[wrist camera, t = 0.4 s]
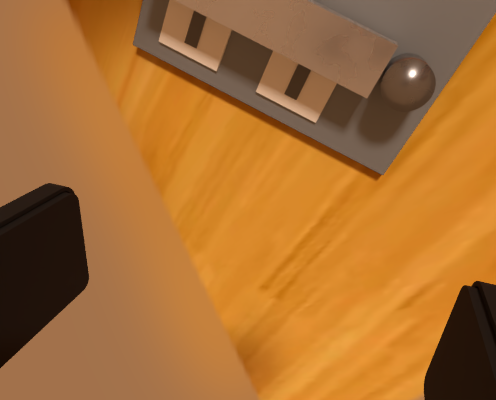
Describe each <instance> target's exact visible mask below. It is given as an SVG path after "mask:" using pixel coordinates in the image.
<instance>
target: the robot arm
mask: <svg viewBox="0 0 496 400" xmlns="http://www.w3.org/2000/svg"><path fill="white" fill-rule="evenodd" d="M88 280H89V274H88V266H87V259H86V251H85V244H84V236H83V229H82V222H81V214H80V207H79V200H78V197H77V196H76V195H75V194H74V191H73V190H72V189H71V188H69V187H65V186H61V185H56V184H51V183H48V184H45V185H43V186H41V187H39V188H37V189H35V190H33V191H31V192H29V193H27V194H25V195H23V196H21V197H20V198H17V199H16V200H14V201H12V202H10V203H8V204H6V205H4V206H2V207H0V368H1V367H2V366H3V365H4V364H5V363H6V362H7V361H8V360H9V359H11V358H12V357H13V356H14V355H15V354H16V353H17V352H18V351H19V350H20V349H21V348H22V347H23V346H24V345H26V343H28V342H29V341H30V340H31V339H32V338H33V337H34V336H35V335H36V334H37V333H38V332H39V331H41V329H42V328H44V327H45V326H46V325H47V324H48V323H49V322H50V321H51V320H52V319H53V318H54V317H55V316H57V315H58V313H60V312H61V311H62V310H63V309H64V308H65V307H66V306H67V305H68V304H69V303H70V302H71V301H73V300H74V299H75V298H76V297H77V296H78V295H79V294H80V293H81V292H82V291H83V290H84V289H85V288H86V286H87V284H88ZM424 397H425V400H496V285H493V284H489V283H484V282H480V281H476V282H474V283H473V285H472V286H466V285H464V286H463V287H462V288H461V290H460V293H459V295H458V297H457V300H456V302H455V305H454V307H453V310H452V312H451V314H450V317H449V319H448V322H447V324H446V327H445V329H444V331H443V334H442V336H441V339H440V341H439V344H438V346H437V348H436V351H435V353H434V356H433V358H432V361H431V363H430V365H429V368H428V370H427V373H426V376H425V381H424Z"/></svg>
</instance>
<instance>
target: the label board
mask: <svg viewBox="0 0 496 400" xmlns="http://www.w3.org/2000/svg"><path fill="white" fill-rule="evenodd" d="M314 1H316V2H318V3H320V4H322V5H324V6H326V7H328V8H330V9H332V10H334V11H336V12H338V13H340V14H342V15H344V16H346V17H348V18H350V19H352V20H354V21H356V22H358V23H360V24H362V25H364V26H366V27H368V28H370V29H372V30H374V31H376V32H378V33H380V34H382V35H384V36H386V37H388V38H390V39H392V40H394V41H396V42H397V44H398V47H397V49H396V50H395V52H394V54H393V56H392V57H391V59H392V58H394V57H396V56H398V55H400V54H405V53H413V54H416V55H419V56H421V57H422V58H423V59H424V60H425V61H426V62H427V63H428V65H429V66H430V68H431V69H432V71H433V73H434V75H435V79H436V86H435V90H434V93H433V95H432V97H431V98H430V100H429V101H428V102H427V103H426V104H425V105H424V106H422V107H420V108H419V109H416V110H414V111H409V112H402V111H397V110H394V109H392V108H391V107H389V106H388V105H387V104H386V103H385V101H384V100H383V98H382V95H381V76H380V78H379V79H378V81H377V83H376V84H375V86H374V88H373V89H372V91H371V93H370V94H369V96H368V98H365V97H363V96H361V95H359V94H357V93H355V92H353V91H351V90H349V89H347V88H345V87H343V86H341V85H339V84H337V83H335V82H334V81H332V80H330V79H328V78H326V77H324V76H322V75H320V74H318V73H316V72H314V71H312V70H310V69H308V68H306V67H304V66H302V65H300V64H298V63H296V62H294V61H292V60H290V59H288V58H286V57H285V56H283V55H281V54H279V53H277V52H275V51H273V50H271V49H269V48H267V47H265V46H263V45H261V44H259V43H257V42H255V41H253V40H251V39H249V38H247V37H245V36H243V35H241V34H239V33H237V32H236V31H234V30H232V29H230V28H228V27H226V26H224V25H222V24H220V23H218V22H216V21H214V20H212V19H210V18H208V17H206V16H204V15H202V14H200V13H198V12H196V11H194V10H192V9H190V8H188V7H186V6H185V5H183V4H181V3H179V2H177V1H175V0H143V3H142V7H141V11H140V16H139V20H138V24H137V29H136V33H135V37H134V41H133V45H134V46H136V47H138V48H140V49H142V50H144V51H146V52H148V53H150V54H152V55H154V56H155V57H157V58H159V59H161V60H163V61H165V62H167V63H169V64H171V65H173V66H175V67H177V68H178V69H180V70H182V71H184V72H186V73H188V74H190V75H192V76H194V77H196V78H198V79H200V80H201V81H203V82H205V83H207V84H209V85H211V86H213V87H215V88H217V89H219V90H221V91H222V92H224V93H226V94H228V95H230V96H232V97H234V98H236V99H238V100H240V101H242V102H244V103H245V104H247V105H249V106H251V107H253V108H255V109H257V110H259V111H261V112H263V113H265V114H267V115H268V116H270V117H272V118H274V119H276V120H278V121H280V122H282V123H284V124H286V125H288V126H290V127H291V128H293V129H295V130H297V131H299V132H301V133H303V134H305V135H307V136H309V137H311V138H312V139H314V140H316V141H318V142H320V143H322V144H324V145H326V146H328V147H330V148H332V149H334V150H335V151H337V152H339V153H341V154H343V155H345V156H347V157H349V158H351V159H353V160H355V161H357V162H358V163H360V164H362V165H364V166H366V167H368V168H370V169H372V170H374V171H376V172H378V173H379V174H381V175H384V173H385V172H386V170H387V169H388V167H389V166H390V165H391V163H392V162H393V160H394V159H395V157H396V156H397V154H398V153H399V152H400V150H401V149H402V147H403V146H404V144H405V143H406V141H407V140H408V139H409V137H410V136H411V134H412V133H413V131H414V130H415V128H416V127H417V126H418V124H419V123H420V121H421V120H422V118H423V117H424V115H425V114H426V113H427V111H428V110H429V108H430V107H431V105H432V104H433V102H434V101H435V100H436V98H437V97H438V95H439V94H440V92H441V91H442V89H443V88H444V87H445V85H446V84H447V82H448V81H449V79H450V78H451V76H452V75H453V74H454V72H455V71H456V69H457V68H458V66H459V65H460V63H461V62H462V61H463V59H464V58H465V56H466V55H467V53H468V52H469V50H470V49H471V48H472V46H473V45H474V43H475V42H476V40H477V39H478V37H479V36H480V35H481V33H482V32H483V30H484V29H485V27H486V26H487V24H488V23H489V22H490V20H491V19H492V17H493V16H494V14H495V13H496V0H314ZM391 59H390V60H391ZM381 75H382V74H381Z"/></svg>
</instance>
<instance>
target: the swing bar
mask: <svg viewBox="0 0 496 400" xmlns="http://www.w3.org/2000/svg"><path fill="white" fill-rule="evenodd" d="M175 1H177V2H179V3H181V4H183V5H185V6H186V7H188V8H190V9H192V10H194V11H196V12H198V13H200V14H202V15H204V16H206V17H208V18H210V19H212V20H214V21H216V22H218V23H220V24H222V25H224V26H226V27H228V28H230V29H232V30H234V31H236V32H237V33H239V34H241V35H243V36H245V37H247V38H249V39H251V40H253V41H255V42H257V43H259V44H261V45H263V46H265V47H267V48H269V49H271V50H273V51H275V52H277V53H279V54H281V55H283V56H285V57H286V58H288V59H290V60H292V61H294V62H296V63H298V64H300V65H302V66H304V67H306V68H308V69H310V70H312V71H314V72H316V73H318V74H320V75H322V76H324V77H326V78H328V79H330V80H332V81H334V82H335V83H337V84H339V85H341V86H343V87H345V88H347V89H349V90H351V91H353V92H355V93H357V94H359V95H361V96H363V97H365V98H368V96H369V94H370V93H371V91H372V89H373V88H374V86H375V84H376V83H377V81H378V79H379V78H380V76H381V95H382V98H383V100H384V101H385V103H386V104H387V105H388V106H389V107H391V108H392V109H394V110H397V111H402V112H409V111H414V110H416V109H419V108H420V107H422V106H424V105H425V104H426V103H427V102H428V101H429V100H430V98H431V97H432V95H433V93H434V90H435V86H436V79H435V75H434V73H433V71H432V69H431V68H430V66H429V65H428V63H427V62H426V61H425V60H424V59H423V58H422V57H421V56H419V55H416V54H413V53H405V54H400V55H398V56H396V57H394V58H392V59H391V57H392V56H393V54H394V52H395V50H396V49H397V47H398V44H397V42H396V41H394V40H392V39H390V38H388V37H386V36H384V35H382V34H380V33H378V32H376V31H374V30H372V29H370V28H368V27H366V26H364V25H362V24H360V23H358V22H356V21H354V20H352V19H350V18H348V17H346V16H344V15H342V14H340V13H338V12H336V11H334V10H332V9H330V8H328V7H326V6H324V5H322V4H320V3H318V2H316V1H314V0H175ZM390 59H391V60H390ZM381 74H382V75H381Z"/></svg>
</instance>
